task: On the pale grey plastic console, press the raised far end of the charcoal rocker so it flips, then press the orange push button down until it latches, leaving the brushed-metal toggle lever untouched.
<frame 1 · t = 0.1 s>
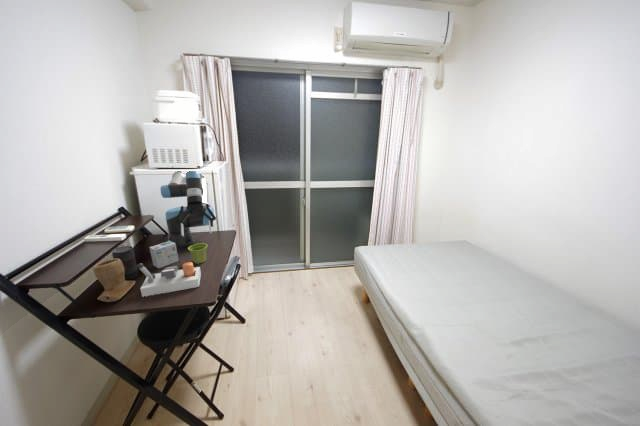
hand: (196, 234, 136), 15 cm above the table, tool tilted 35°, fingers open, 13 cm apart
toggle lever: (145, 271, 112), point 9 cm above the table, hinge at 25.0°
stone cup: (116, 294, 111), on the table
camera lens: (129, 277, 124), on the table
console: (173, 284, 117), on the table
plant pot: (200, 261, 139), on the table
orange button: (188, 270, 118), point 6 cm above the table, slide at 0.0 cm
rocker: (169, 271, 115), point 7 cm above the table, hinge at -14.0°
light bulb box: (166, 263, 138), on the table
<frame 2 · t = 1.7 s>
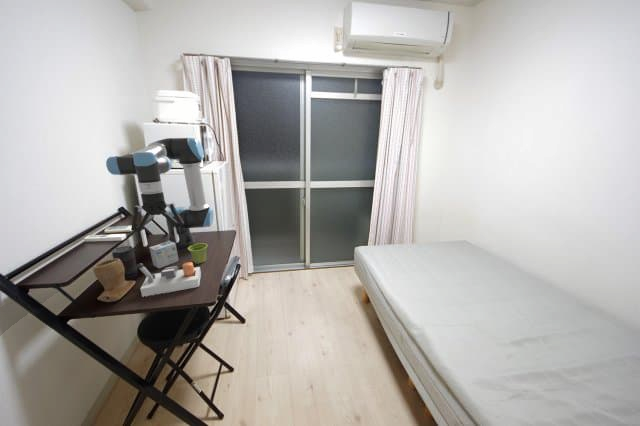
hand: (162, 243, 107), 22 cm above the table, tool pointing down, fingers open, 11 cm apart
nothing on the table moved.
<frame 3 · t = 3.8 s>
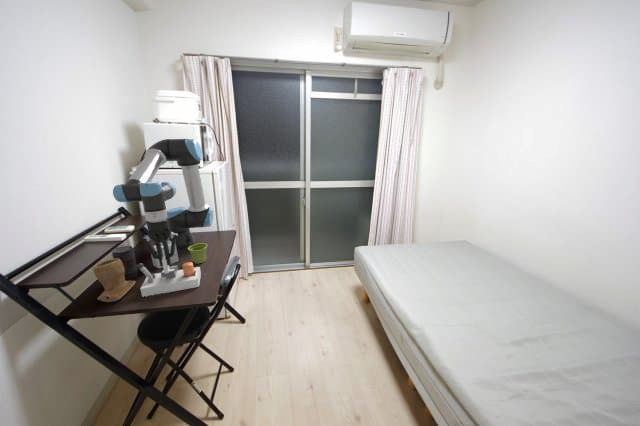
hand: (167, 271, 111), 9 cm above the table, tool pointing down, fingers closed
rocker: (169, 271, 115), point 7 cm above the table, hinge at -11.4°, touching gripper
everything else where it was.
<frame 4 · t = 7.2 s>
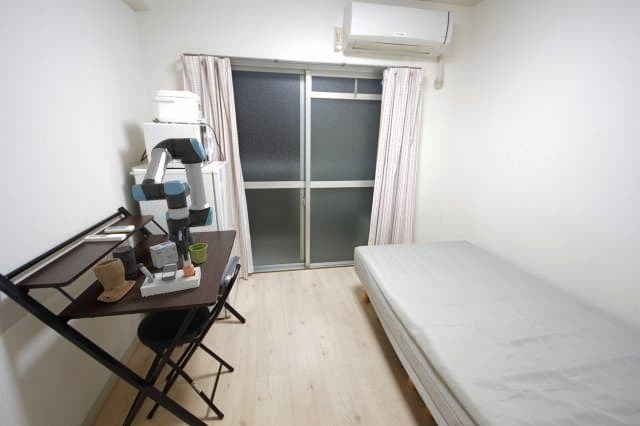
hand: (187, 265, 117), 8 cm above the table, tool pointing down, fingers closed
orange button: (188, 271, 118), point 5 cm above the table, slide at 0.9 cm, touching gripper
rocker: (169, 271, 115), point 7 cm above the table, hinge at 17.7°
everything else where it was.
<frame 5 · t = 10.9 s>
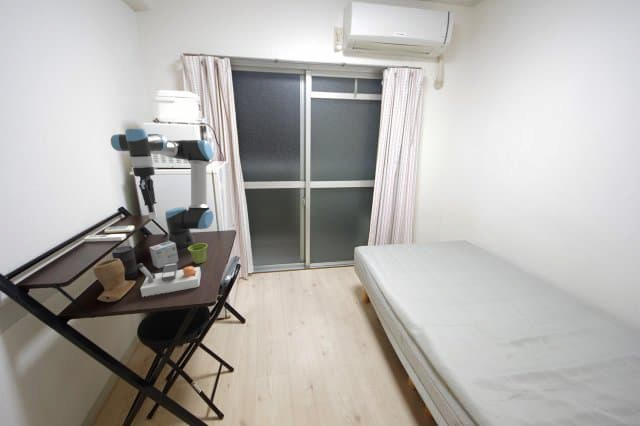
hand: (153, 218, 117), 29 cm above the table, tool pointing down, fingers closed
orange button: (189, 274, 119), point 4 cm above the table, slide at 2.0 cm
everything else where it was.
at the end: rocker at +18° (first picture: -14°); orange button slide at 2.0 cm; toggle lever at +25° (first picture: +25°) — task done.
